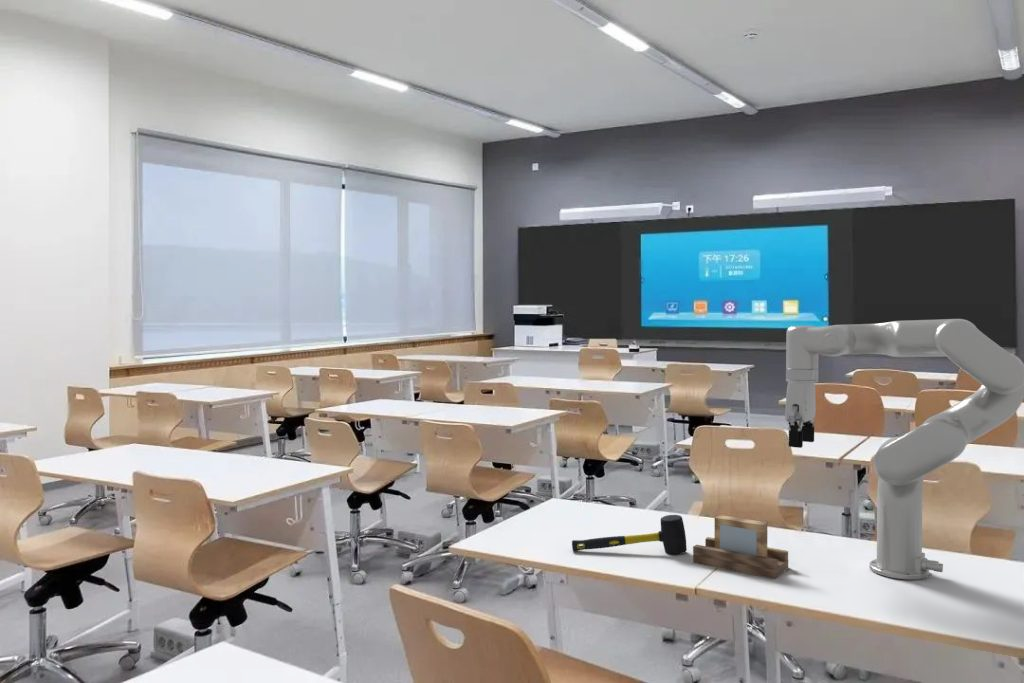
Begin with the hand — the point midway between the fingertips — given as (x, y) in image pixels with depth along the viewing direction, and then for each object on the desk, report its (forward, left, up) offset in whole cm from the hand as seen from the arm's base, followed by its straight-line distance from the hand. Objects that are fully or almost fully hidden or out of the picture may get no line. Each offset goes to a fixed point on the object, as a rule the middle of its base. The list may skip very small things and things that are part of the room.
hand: (801, 444), depth 196 cm
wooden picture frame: (+10, +15, -26) cm, 32 cm away
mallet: (+37, +21, -29) cm, 51 cm away
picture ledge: (+10, +15, -28) cm, 34 cm away
